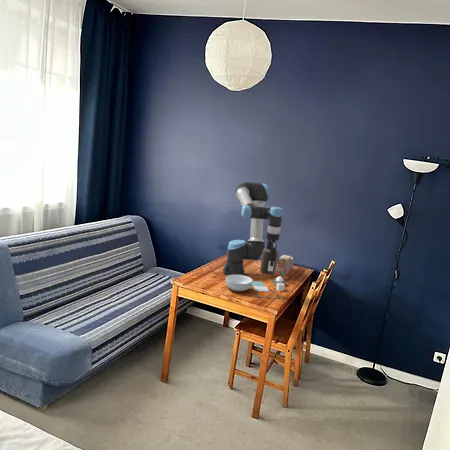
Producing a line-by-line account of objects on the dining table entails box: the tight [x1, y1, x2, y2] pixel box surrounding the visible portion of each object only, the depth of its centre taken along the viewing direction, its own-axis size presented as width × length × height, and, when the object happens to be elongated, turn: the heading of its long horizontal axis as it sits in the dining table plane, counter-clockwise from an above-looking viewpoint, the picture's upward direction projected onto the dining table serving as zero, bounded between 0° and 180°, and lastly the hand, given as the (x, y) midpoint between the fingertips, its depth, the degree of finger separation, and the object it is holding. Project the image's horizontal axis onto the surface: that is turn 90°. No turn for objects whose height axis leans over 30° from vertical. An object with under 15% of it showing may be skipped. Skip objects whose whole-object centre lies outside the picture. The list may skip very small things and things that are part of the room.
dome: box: [275, 275, 285, 282], centre depth 277 cm, size 5×5×5 cm
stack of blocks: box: [276, 254, 295, 277], centre depth 307 cm, size 21×6×12 cm, turn 156°
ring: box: [253, 288, 280, 300], centre depth 256 cm, size 13×13×1 cm
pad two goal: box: [251, 280, 265, 287], centre depth 273 cm, size 9×8×1 cm
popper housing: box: [272, 278, 287, 287], centre depth 278 cm, size 7×7×2 cm
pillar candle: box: [259, 249, 280, 276], centre depth 253 cm, size 10×10×15 cm
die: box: [275, 283, 286, 292], centre depth 266 cm, size 4×4×4 cm
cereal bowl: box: [225, 274, 253, 293], centre depth 258 cm, size 17×17×7 cm
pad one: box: [252, 285, 270, 293], centre depth 264 cm, size 9×8×1 cm
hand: (268, 268), depth 254 cm, fingers closed on pillar candle, 10 cm apart
